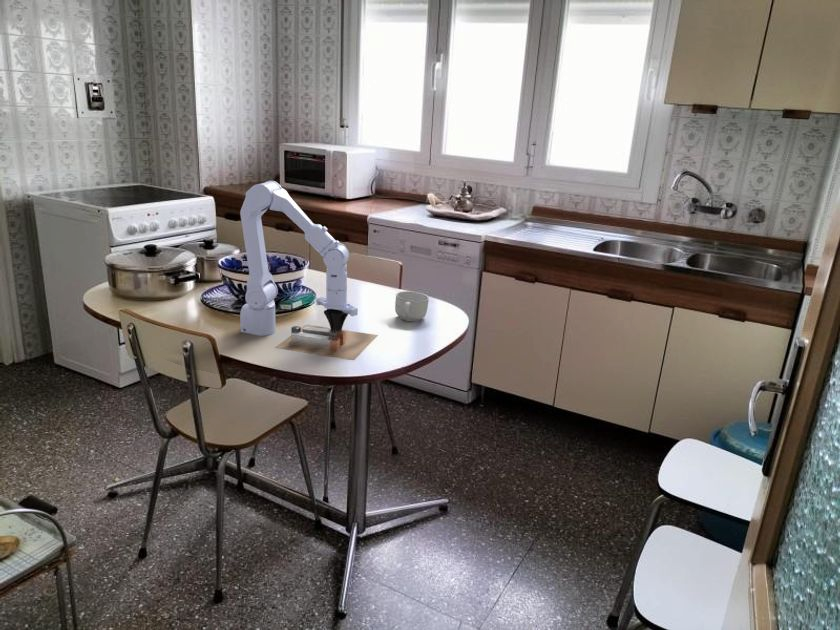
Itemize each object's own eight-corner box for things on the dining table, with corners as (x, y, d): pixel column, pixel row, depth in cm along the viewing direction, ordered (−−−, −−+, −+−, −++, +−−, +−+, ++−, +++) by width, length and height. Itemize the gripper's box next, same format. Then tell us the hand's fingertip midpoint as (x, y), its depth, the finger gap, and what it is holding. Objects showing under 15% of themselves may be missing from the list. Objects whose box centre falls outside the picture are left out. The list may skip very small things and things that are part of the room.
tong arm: (302, 339, 174) (302, 329, 173) (305, 336, 176) (305, 326, 175) (343, 344, 172) (343, 334, 171) (345, 341, 174) (345, 331, 173)
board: (274, 351, 168) (274, 347, 168) (306, 328, 187) (306, 324, 186) (354, 364, 163) (354, 360, 163) (377, 338, 182) (378, 335, 181)
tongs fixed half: (286, 343, 171) (286, 330, 170) (294, 338, 175) (293, 325, 174) (336, 351, 168) (336, 338, 167) (342, 345, 172) (342, 332, 171)
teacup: (402, 311, 207) (403, 288, 204) (432, 316, 203) (434, 293, 201) (385, 323, 195) (386, 299, 192) (416, 329, 191) (418, 305, 188)
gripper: (308, 285, 173) (308, 330, 177) (345, 296, 165) (344, 344, 169) (326, 280, 178) (326, 324, 183) (363, 291, 170) (362, 337, 174)
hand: (336, 333), depth 176 cm, fingers closed
